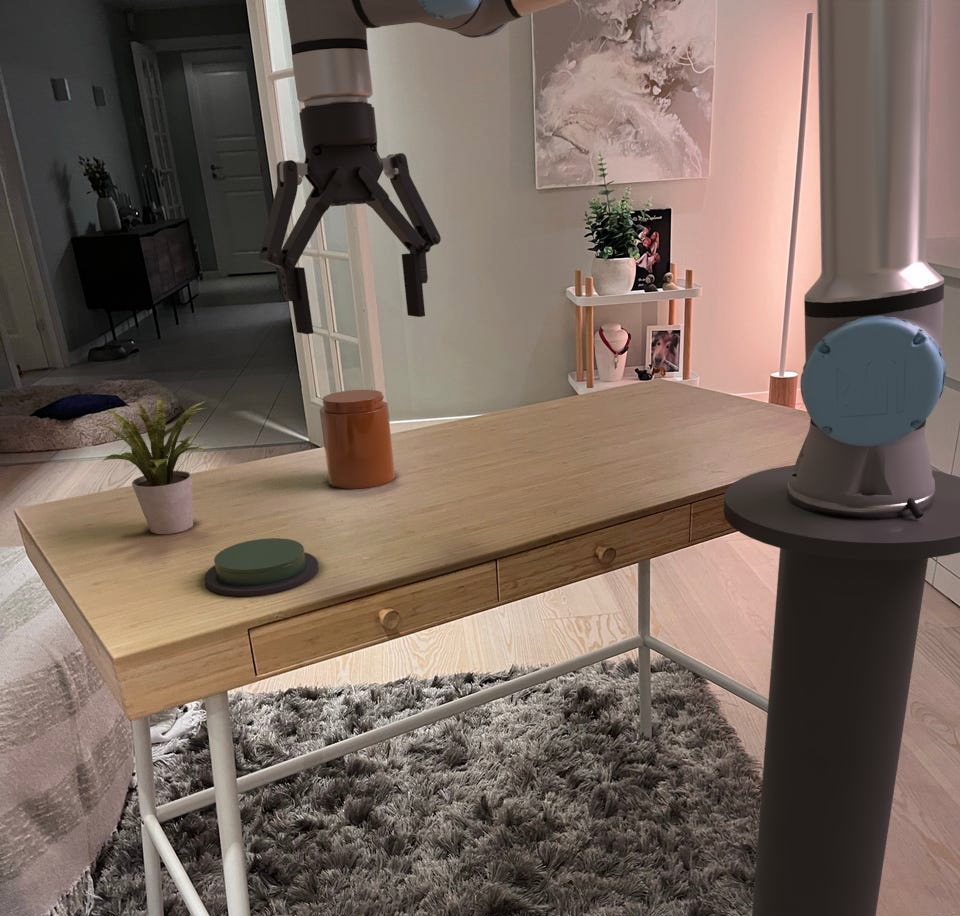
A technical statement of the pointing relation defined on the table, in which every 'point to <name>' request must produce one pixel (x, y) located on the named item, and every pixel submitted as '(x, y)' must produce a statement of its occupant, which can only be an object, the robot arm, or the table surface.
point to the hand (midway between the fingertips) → (362, 324)
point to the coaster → (254, 590)
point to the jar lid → (260, 561)
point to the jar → (357, 439)
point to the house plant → (160, 469)
